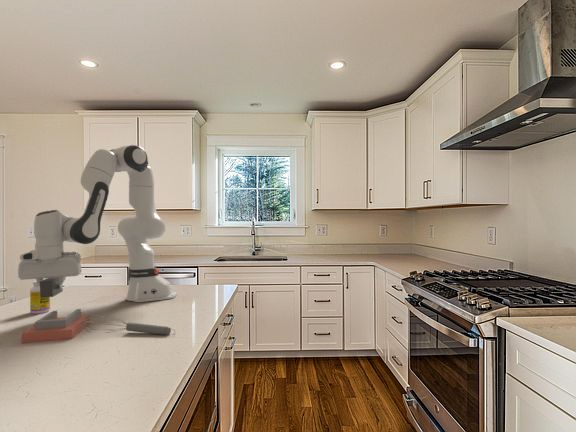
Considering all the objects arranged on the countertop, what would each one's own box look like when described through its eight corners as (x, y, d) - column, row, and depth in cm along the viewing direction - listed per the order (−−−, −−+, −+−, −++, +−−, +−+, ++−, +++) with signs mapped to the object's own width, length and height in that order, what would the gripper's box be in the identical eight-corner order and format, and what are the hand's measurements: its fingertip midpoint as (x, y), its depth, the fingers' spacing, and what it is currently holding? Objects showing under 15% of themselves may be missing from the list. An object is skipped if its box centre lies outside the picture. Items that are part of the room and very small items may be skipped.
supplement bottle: (39, 314, 138) (39, 282, 138) (26, 313, 139) (25, 282, 139) (54, 310, 145) (53, 279, 144) (41, 309, 146) (40, 279, 146)
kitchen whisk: (170, 338, 109) (170, 318, 109) (76, 334, 115) (76, 316, 115) (179, 332, 115) (179, 313, 115) (90, 328, 121) (89, 310, 121)
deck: (88, 323, 125) (88, 308, 125) (72, 338, 110) (71, 321, 110) (45, 326, 122) (45, 311, 122) (21, 342, 107) (21, 325, 106)
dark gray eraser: (62, 291, 136) (61, 276, 136) (52, 296, 127) (51, 280, 127) (51, 292, 135) (50, 276, 135) (40, 297, 126) (39, 281, 126)
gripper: (83, 250, 136) (84, 285, 136) (23, 253, 131) (25, 289, 132) (77, 252, 130) (79, 288, 130) (14, 256, 125) (16, 293, 126)
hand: (51, 289), depth 131 cm, fingers closed on dark gray eraser, 4 cm apart
